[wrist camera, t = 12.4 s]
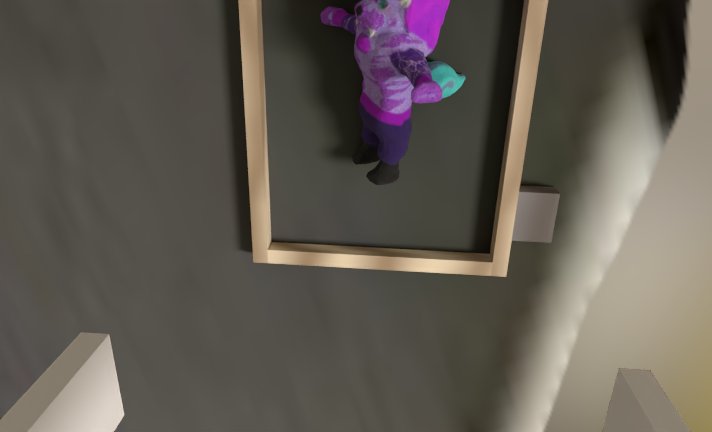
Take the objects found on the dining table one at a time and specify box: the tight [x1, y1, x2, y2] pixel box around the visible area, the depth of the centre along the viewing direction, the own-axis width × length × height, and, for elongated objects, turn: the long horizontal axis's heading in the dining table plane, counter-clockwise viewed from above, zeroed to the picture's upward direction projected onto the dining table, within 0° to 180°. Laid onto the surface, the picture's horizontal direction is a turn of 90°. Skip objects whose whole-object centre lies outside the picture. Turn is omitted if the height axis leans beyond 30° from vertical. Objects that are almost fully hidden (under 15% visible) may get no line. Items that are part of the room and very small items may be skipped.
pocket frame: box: [238, 0, 560, 277], centre depth 40 cm, size 23×22×2 cm
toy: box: [320, 0, 465, 185], centre depth 36 cm, size 12×10×15 cm
